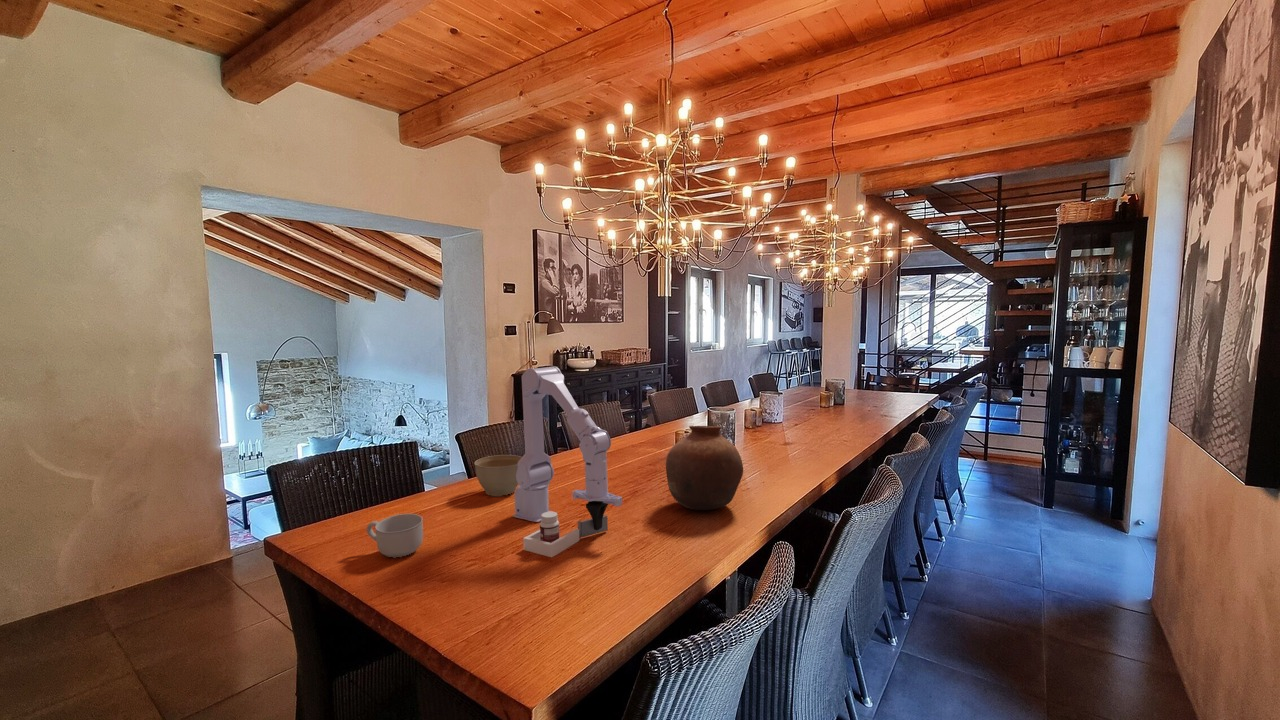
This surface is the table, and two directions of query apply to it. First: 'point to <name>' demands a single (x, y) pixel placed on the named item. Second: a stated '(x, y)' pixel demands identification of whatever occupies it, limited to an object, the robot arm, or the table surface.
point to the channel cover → (591, 527)
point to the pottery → (704, 469)
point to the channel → (546, 548)
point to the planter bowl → (497, 474)
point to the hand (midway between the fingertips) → (597, 528)
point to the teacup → (397, 534)
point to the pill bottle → (549, 527)
